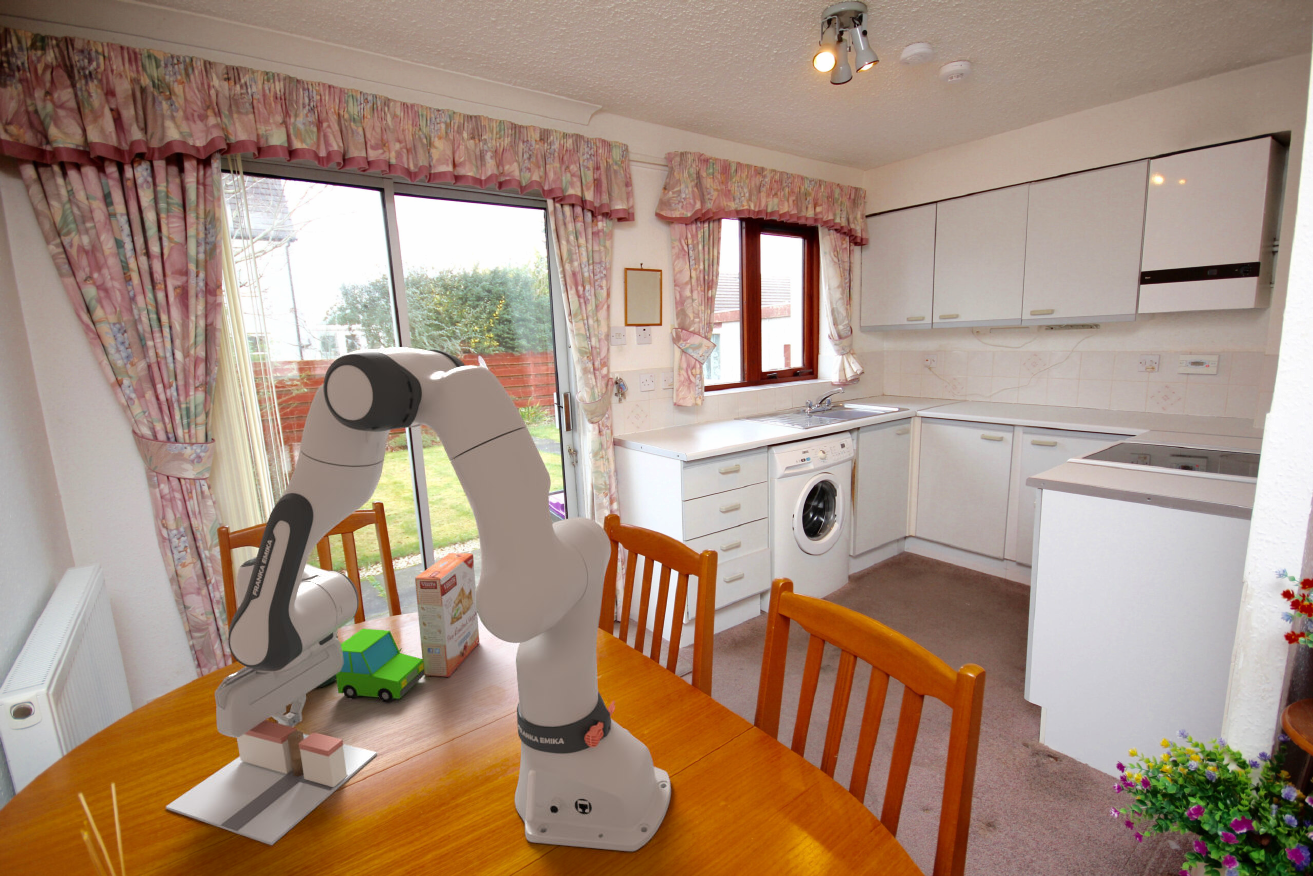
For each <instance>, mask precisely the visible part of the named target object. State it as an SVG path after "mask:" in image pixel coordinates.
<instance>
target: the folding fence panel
mask: <svg viewBox="0 0 1313 876" xmlns="http://www.w3.org/2000/svg"><path fill="white" fill-rule="evenodd" d="M295 731H298V730H297V727H295V726H293V727H290V726H286V725H282V724H278V722H274V721H270V720H267V719H266V720H265V721H263V722H262V723H260V724H259V725H257V726H255V727H254V728H252V729H251V730H249V731H248V732H246V733H245V734H243V735H242V736H240V737H236V741H237V747H238V748H237V749H238V752H239V757H240V760H241V761H243V762H247V763H250V764H254V765H257V766H261V767H264V768H268V769H271V770H275V771H278V772H282V773H285V774H288V773H289V772H290V771H291V770H293V769H292V762H291V756H290V749H289V743H288V735H289V734H291V733H292V732H295Z"/></svg>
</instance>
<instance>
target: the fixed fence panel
mask: <svg viewBox="0 0 1313 876" xmlns="http://www.w3.org/2000/svg"><path fill="white" fill-rule="evenodd" d="M308 735H309V736H308V737H307V738H305V739H304V740H302V741H301V742H300V743H298V744H299V749H300V753H301V759H302V766H303V773H304V779H306V780H310V781H313V782H317V783H320V784H324V785H327V786H330V787H335V786H336V785H337V784H338V783H339V782H340V781H342V780H343V779H344V778H345V777H346V776H347V773H346V766H345V758H344V751H343V744H344V740H343V739H341V738H338V737H333V736H329V735H325V734H321V733H319V732H312V733H310V734H308Z"/></svg>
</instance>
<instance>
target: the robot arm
mask: <svg viewBox="0 0 1313 876" xmlns="http://www.w3.org/2000/svg"><path fill="white" fill-rule="evenodd" d="M323 378H324V379H323V383H322V384H321V385H320V386H319V387H318V388H317V390H316V392H315V394H314V396H313V398H312V401H311V404H310V407H309V410H308V412H307V416H306V419H305V423H304V427H303V431H302V436H301V442H300V446H299V447H300V448H299V453H298V457H297V461H296V463H295V464H296V465H295V468H294V470H293V472H292V476H291V478H290V480H289V482H288V484H287V487H286V488H285V489H284V492H283V493H282V495H281V497H280V498H279V499H278V501H277V502H276V504H275V506H274V507H273V508H272V511H271V512H270V515H269V517H268V520H267V523H266V525H265V528H264V531H263V534H262V537H261V541H260V544H259V547H258V549H257V550H258V551H257V555H256V556H255V557H253V558H250V559H249V560H247V561H246V560H245V561H244V563H242V564H241V565H240V566H239V568H238V571H237V575H236V596H237V597H236V598H237V606H238V608H237V610H236V612H235V613H234V615H233V617H232V619H231V621H230V625H229V629H228V636H227V637H228V640H227V642H228V648H229V650H230V653H231V655H232V657H233V658H234V659H235V661H236V662H238V663H239V664H240V665H242V666H244V667H242V668H240V669H239V670H237V671H236V672H235V673H232V674H229V675H227V676H226V677H224V679H223V680H222V682H221V683H220V684H219V685H218V686H217V689H215V691H214V697H215V704H216V714H215V715H216V727H217V731H218V733H220V734H221V735H224V736H227V737H231V738H237V737H240V736H242V735H243V734H245V733H246V732H248V731H249V730H251V729H252V728H254V727H255V726H257V725H259V724H260V723H262V722H263V721H265V720H266V721H267V720H268V719H269V718H271V717H272V718H273V719H274V720H276V722H277V723H278V724H282V725H286V726H290V727H295V726H296V725H297V724H299V723H300V722H302V721H303V715H302V711H303V710H304V709H303V708H304V707H305V703H306V700H307V695H306V694H309V692H311V691H312V690H314V689H316V688H318V687H317V686H319V685H320V684H322V683H323V682H325V681H326V680H328V679H329V678H331V677H332V676H334V675H335V674H337V673H339V672H340V671H341V669H342V666H343V664H344V659H343V652H342V647H341V643H342V642H341V641H340V640H339V638H336V636H338V632H339V629H341V628H342V627H344V626H345V625H346V624H348V623H349V622H351V621H352V620H353V619H354V618H355V616H356V615H357V613H358V612H357V611H358V609H359V601H360V599H359V598H360V597H359V593H358V590H357V588H356V586H355V584H354V582H353V581H352V579H350V578H349V576H347V575H346V574H344V573H342V572H340V571H337V570H331V569H330V570H329V569H328V570H326V569H323V568H319V567H316V566H314V565H312V564H309V563H307V562H308V559H309V557H310V555H311V553H312V551H313V549H315V547H316V545H317V544H318V543H319V542H320V541H321V540H322V539H323V538H324V536H326V534H327V533H329V532H330V531H331V530H333V528H335V527H336V526H337V525H339V524H340V523H341V522H342V521H344V520H345V519H346V518H348V517H349V516H351V515H352V514H353V513H355V512H356V511H358V510H360V509H361V508H362V507H363V506H364V505H365V504H367V503H368V502H369V501H370V500H371V498H372V497H373V495H374V493H375V491H376V489H377V487H378V484H379V483H380V480H381V476H382V472H383V468H384V461H385V456H386V448H387V442H388V438H389V435H390V432H391V430H392V431H393V430H398V429H399V430H400V429H407V428H416V427H421V426H425V427H428V428H429V429H431V430H432V431H433V432H434V433H435V435H436V436H437V437H438V438H439V440H440V443H441V444H442V446H443V448H444V452H445V453H446V457H448V460H449V462H450V464H451V466H452V469H453V470H454V472H455V474H456V477H457V479H458V481H459V483H460V485H461V488H462V490H463V492H464V494H465V496H466V499H467V501H468V503H469V506H470V508H471V511H472V514H473V517H474V520H475V523H476V529H477V534H478V539H479V548H480V549H479V550H480V565H481V566H480V575H479V579H478V580H479V581H478V583H477V587H476V595H475V605H476V610H477V615H478V619H479V620H480V622H481V623H482V624H483V626H484V627H485V629H486V630H487V631H488V632H489V633H491V635H492V636H494V637H496V638H498V639H499V640H501V641H504V642H507V643H513V644H518V647H517V651H516V657H515V666H516V680H517V681H516V682H517V692H518V704H517V707H516V718H517V719H516V720H517V721H516V722H517V734H518V737H519V740H520V767H519V774H518V775H519V776H518V781H517V785H516V786H517V787H516V790H515V793H514V794H515V795H514V806H515V809H516V811H517V812H518V814H519V817H521V819H522V821H523V822H524V836H525V838H526V840H527V841H528V842H530V843H535V844H536V843H537V844H547V845H559V846H569V847H579V848H588V849H589V848H592V849H599V850H600V849H602V850H613V851H624V852H636V851H638V850H639V849H641V848H642V847H643V846H645V845H646V844H647V843H648V842H649V841H650V840H651V839H652V838H653V837H654V835H655V834H656V833H657V831H658V829H659V828H660V826H661V825H662V822H663V820H664V819H665V816H666V814H667V811H668V808H669V805H670V802H671V795H672V787H671V779H670V777H669V773H668V772H667V771H666V770H664V769H662V768H659V767H656V766H654V761H653V758H652V755H651V753H650V750H649V748H648V747H647V746H646V745H645V744H644V743H643V742H642V741H640V739H638V738H636V737H635V736H634V735H632V733H631V732H630V731H629V730H628V729H626V728H623V727H622V726H621V725H620V724H619V723H617V722H616V721H615V720H614V719H612V718H611V717H612V715H613V713H614V712H615V709H616V706H615V703H616V701H615V700H613V701H612V702H611V703H610V705H609V706H608V707H607V706H606V704H605V701H604V699H603V697H602V695H601V694H600V692H599V688H598V684H599V683H598V668H597V667H598V666H597V639H598V631H599V624H600V616H601V610H602V602H603V601H602V599H603V591H604V584H605V583H604V582H605V577H606V572H607V569H608V565H609V562H610V558H611V553H612V547H611V546H612V545H611V541H610V538H609V536H608V533H607V532H606V531H605V530H604V528H603V527H602V526H601V525H600V524H599V523H598V522H596V521H594V520H593V519H590V518H587V517H585V516H584V517H581V516H576V517H570V518H565V519H561V520H558V521H555V522H553V520H552V515H551V509H550V501H549V499H550V497H549V496H550V490H551V484H552V483H551V482H552V481H551V476H550V473H549V471H548V469H547V467H546V465H545V462H544V460H543V458H542V456H541V454H540V451H539V450H538V447H537V445H536V444H535V441H534V439H533V437H532V435H531V433H530V431H529V428H528V426H527V425H526V423H525V421H524V419H523V417H522V415H521V413H520V411H519V410H518V408H517V406H516V403H514V401H513V400H512V397H511V396H510V395H509V393H508V391H507V390H506V389H505V388H504V385H503V384H502V383H501V382H500V380H499V379H498V377H497V376H496V375H495V374H494V373H493V372H492V370H491V371H490V369H487V368H486V367H483V366H481V365H466V364H465V363H464V362H463V361H462V360H461V359H460V358H458V357H457V356H455V355H454V354H452V353H449V352H446V351H443V350H438V349H426V350H425V349H421V348H420V349H419V348H409V347H402V346H401V347H400V346H399V347H386V348H385V347H384V348H377V349H373V348H367V349H366V348H364V349H359V350H354V351H351V352H348V353H345V354H342V355H341V356H340V357H338V358H336V359H334V361H333V362H332V363H330V365H329V367H328V368H327V371H326V372H325V375H324V377H323ZM315 687H316V688H315ZM289 705H290V709H289V710H290V711H289V712H288V713H287V706H289ZM285 713H286V714H285Z"/></svg>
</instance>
